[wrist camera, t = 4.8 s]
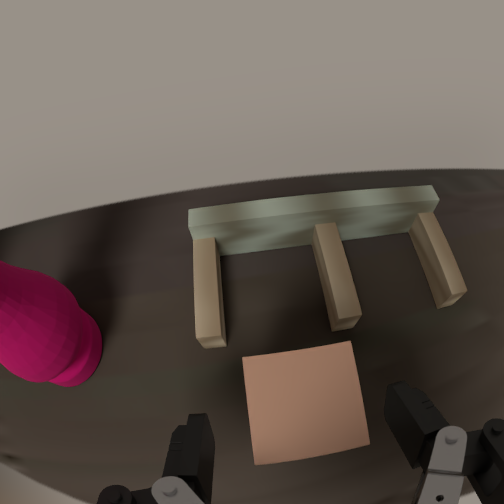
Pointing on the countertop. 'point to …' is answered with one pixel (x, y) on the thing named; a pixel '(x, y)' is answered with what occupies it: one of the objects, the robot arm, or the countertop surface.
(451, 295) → the comb rack
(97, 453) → the countertop surface
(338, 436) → the plug
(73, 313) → the pepper mill
